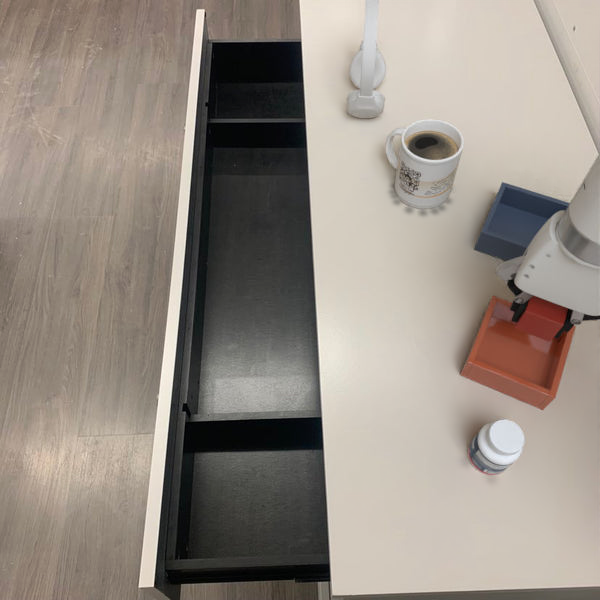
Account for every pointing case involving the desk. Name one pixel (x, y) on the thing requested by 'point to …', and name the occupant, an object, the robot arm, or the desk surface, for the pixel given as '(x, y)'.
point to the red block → (542, 318)
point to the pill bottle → (496, 447)
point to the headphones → (367, 70)
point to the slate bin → (515, 221)
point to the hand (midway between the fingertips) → (537, 319)
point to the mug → (425, 161)
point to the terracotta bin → (516, 358)
